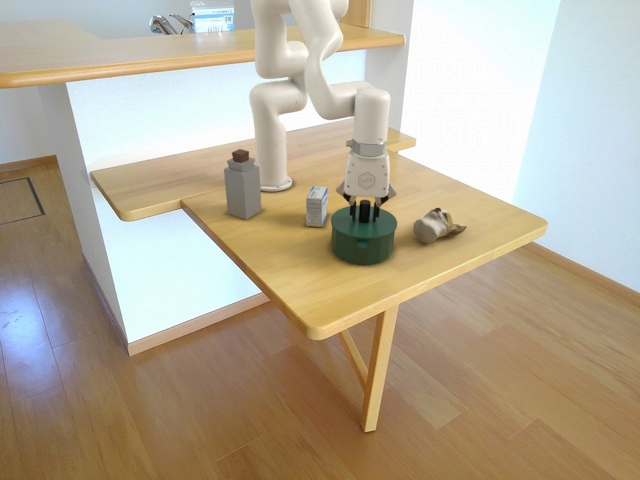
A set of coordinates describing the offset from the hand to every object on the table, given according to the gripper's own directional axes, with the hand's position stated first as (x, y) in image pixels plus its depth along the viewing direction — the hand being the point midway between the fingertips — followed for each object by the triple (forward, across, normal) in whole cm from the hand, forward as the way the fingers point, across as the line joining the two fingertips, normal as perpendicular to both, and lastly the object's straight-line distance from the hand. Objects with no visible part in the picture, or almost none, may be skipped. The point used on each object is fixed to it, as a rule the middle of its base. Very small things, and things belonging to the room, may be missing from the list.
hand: (364, 217), depth 116 cm
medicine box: (+9, -13, +13) cm, 20 cm away
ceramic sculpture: (+9, +19, +9) cm, 23 cm away
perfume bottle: (+9, -34, +15) cm, 38 cm away
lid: (+1, 0, 0) cm, 1 cm away
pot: (+9, 0, 0) cm, 9 cm away
